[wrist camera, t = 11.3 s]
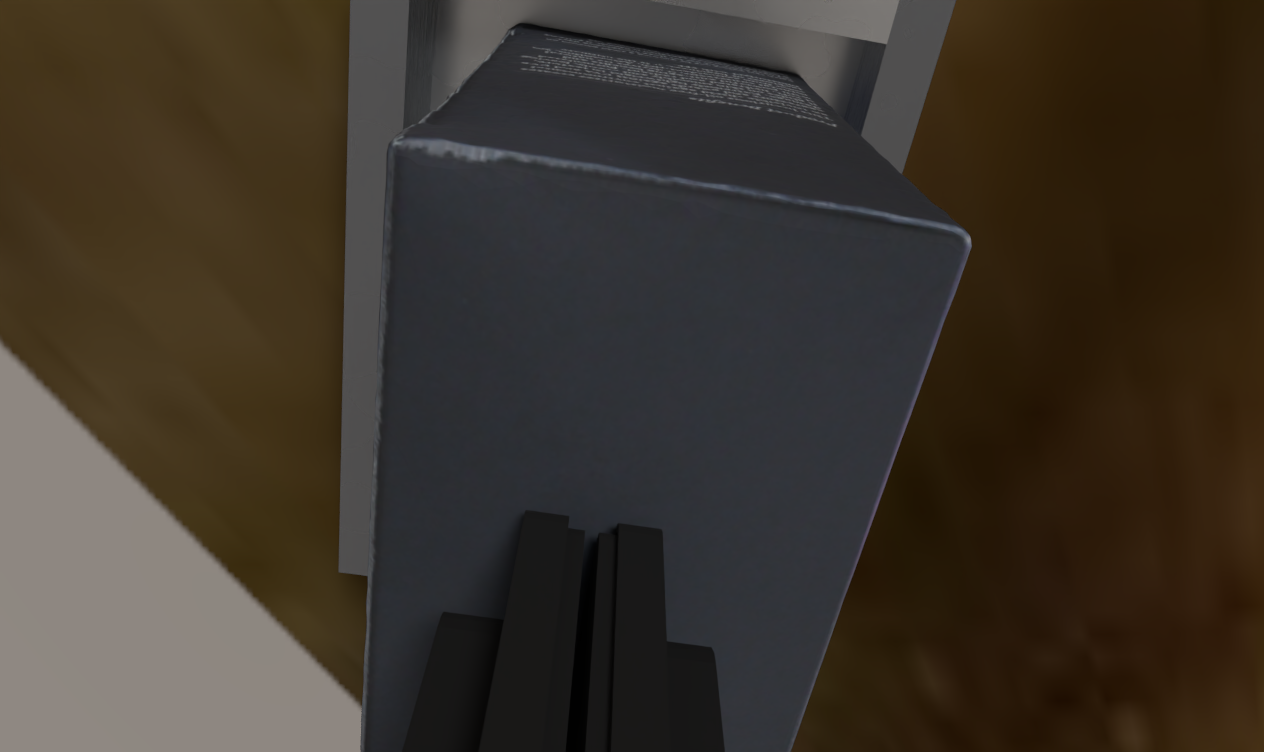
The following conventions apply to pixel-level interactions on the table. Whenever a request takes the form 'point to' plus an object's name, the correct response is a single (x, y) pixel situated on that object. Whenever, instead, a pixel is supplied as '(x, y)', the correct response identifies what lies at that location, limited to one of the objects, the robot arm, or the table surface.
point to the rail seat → (609, 8)
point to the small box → (643, 354)
